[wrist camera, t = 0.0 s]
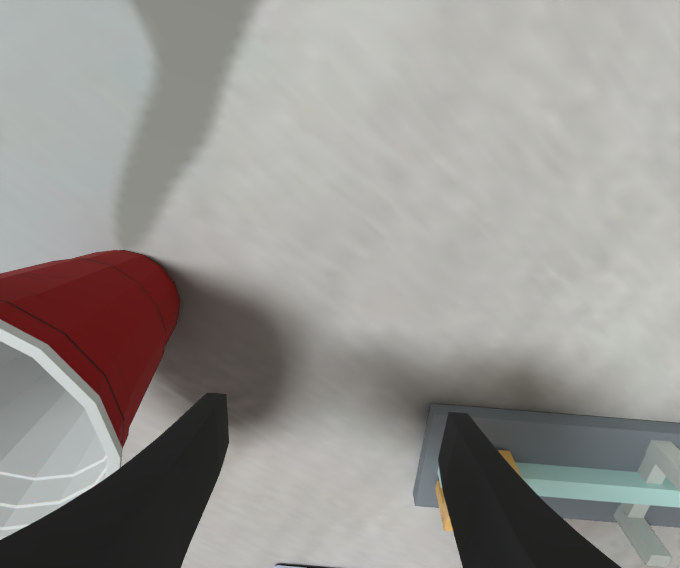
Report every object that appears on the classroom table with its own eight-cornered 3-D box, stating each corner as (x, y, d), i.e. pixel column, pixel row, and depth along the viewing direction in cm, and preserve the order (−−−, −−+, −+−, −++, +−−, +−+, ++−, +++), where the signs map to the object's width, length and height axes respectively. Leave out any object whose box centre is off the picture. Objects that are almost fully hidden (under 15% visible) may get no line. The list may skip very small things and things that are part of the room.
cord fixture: (695, 516, 28) (750, 581, 24) (413, 492, 28) (422, 553, 24) (749, 428, 24) (823, 487, 21) (430, 403, 25) (444, 456, 21)
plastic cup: (258, 348, 24) (171, 551, 12) (105, 390, 25) (-89, 602, 14) (172, 172, 20) (-63, 241, 9) (-1, 236, 21) (-383, 363, 10)
